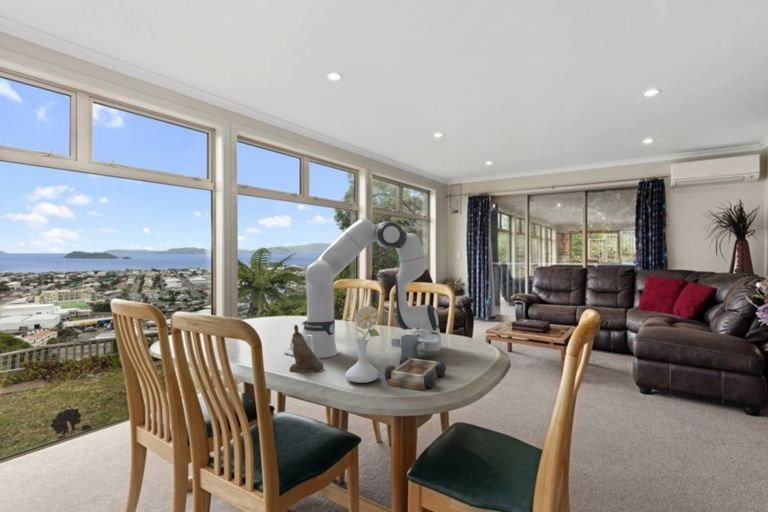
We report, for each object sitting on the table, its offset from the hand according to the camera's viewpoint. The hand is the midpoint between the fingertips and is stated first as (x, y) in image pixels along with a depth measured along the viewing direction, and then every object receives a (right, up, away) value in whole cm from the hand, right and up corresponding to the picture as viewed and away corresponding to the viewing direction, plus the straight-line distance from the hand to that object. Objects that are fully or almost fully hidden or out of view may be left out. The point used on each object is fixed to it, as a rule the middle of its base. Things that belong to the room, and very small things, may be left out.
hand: (408, 347), depth 144 cm
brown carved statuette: (-37, -6, -9) cm, 39 cm away
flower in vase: (-16, -6, -20) cm, 27 cm away
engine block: (0, -6, +1) cm, 6 cm away
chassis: (+1, -6, -18) cm, 19 cm away
